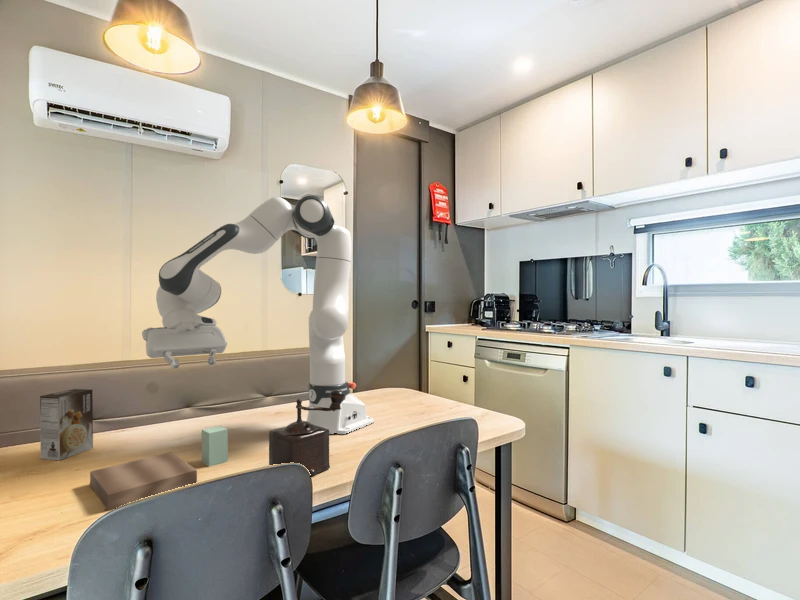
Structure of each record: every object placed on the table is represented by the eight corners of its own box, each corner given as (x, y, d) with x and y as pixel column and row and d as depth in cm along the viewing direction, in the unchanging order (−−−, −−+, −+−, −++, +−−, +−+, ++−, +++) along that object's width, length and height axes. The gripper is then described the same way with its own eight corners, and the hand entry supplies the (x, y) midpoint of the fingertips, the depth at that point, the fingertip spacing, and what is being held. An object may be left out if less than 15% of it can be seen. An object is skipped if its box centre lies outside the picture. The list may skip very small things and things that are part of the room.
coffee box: (74, 446, 113) (74, 388, 113) (93, 448, 112) (94, 389, 112) (38, 459, 104) (39, 395, 104) (59, 461, 103) (59, 396, 103)
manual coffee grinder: (294, 484, 89) (294, 400, 89) (267, 470, 97) (267, 393, 97) (349, 463, 100) (349, 389, 101) (321, 452, 108) (321, 384, 108)
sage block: (219, 457, 105) (219, 425, 105) (227, 461, 102) (227, 429, 102) (201, 461, 102) (201, 429, 102) (209, 466, 99) (209, 433, 99)
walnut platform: (171, 464, 100) (171, 452, 100) (196, 483, 89) (196, 469, 89) (90, 485, 89) (90, 471, 89) (108, 510, 78) (108, 494, 78)
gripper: (143, 320, 109) (154, 361, 102) (221, 319, 123) (235, 354, 117) (137, 336, 112) (148, 377, 105) (214, 333, 126) (227, 368, 120)
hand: (194, 365), depth 111 cm, fingers open, 8 cm apart
